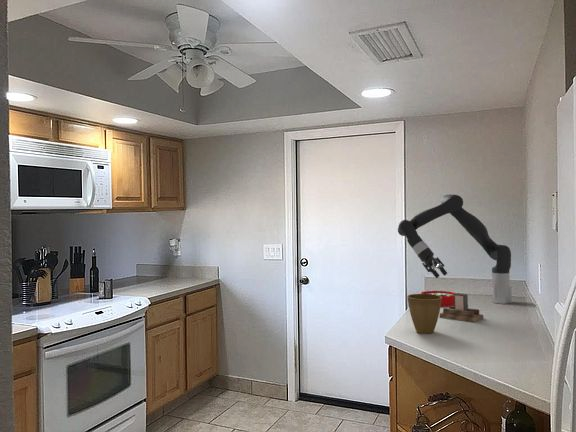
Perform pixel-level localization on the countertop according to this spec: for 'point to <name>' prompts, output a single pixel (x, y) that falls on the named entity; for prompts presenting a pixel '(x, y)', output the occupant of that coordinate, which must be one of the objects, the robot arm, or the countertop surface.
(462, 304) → the dark grey cuboid
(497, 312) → the countertop surface
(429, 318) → the plant pot
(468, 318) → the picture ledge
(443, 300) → the toy clock
